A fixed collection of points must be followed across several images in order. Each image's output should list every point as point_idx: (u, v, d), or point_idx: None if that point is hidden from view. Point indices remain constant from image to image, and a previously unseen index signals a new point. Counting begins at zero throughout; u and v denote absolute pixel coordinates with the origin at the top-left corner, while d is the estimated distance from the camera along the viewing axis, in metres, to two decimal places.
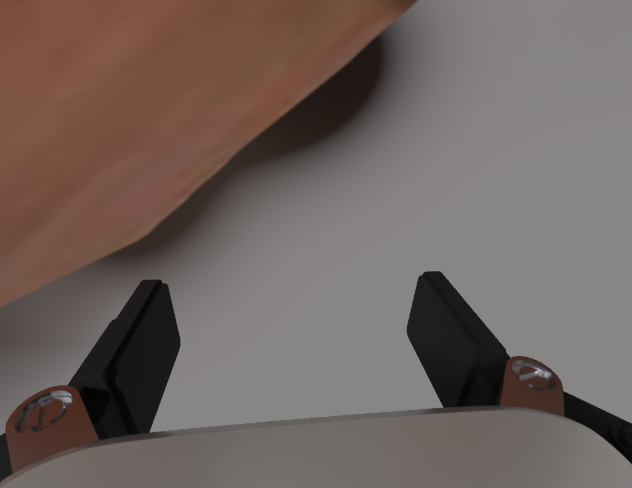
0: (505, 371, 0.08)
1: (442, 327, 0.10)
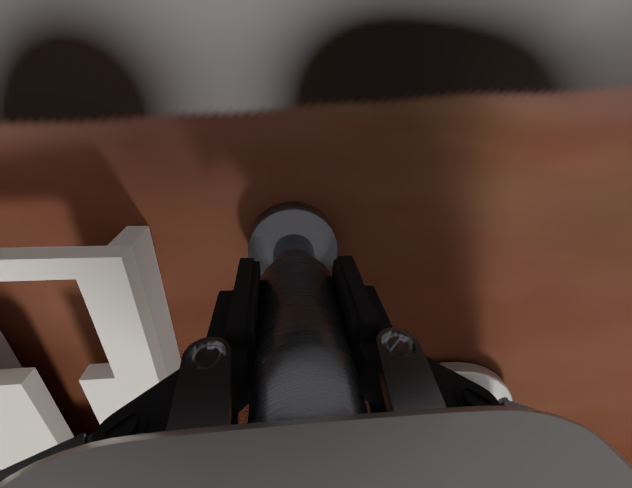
0: (378, 351, 0.08)
1: (342, 305, 0.11)
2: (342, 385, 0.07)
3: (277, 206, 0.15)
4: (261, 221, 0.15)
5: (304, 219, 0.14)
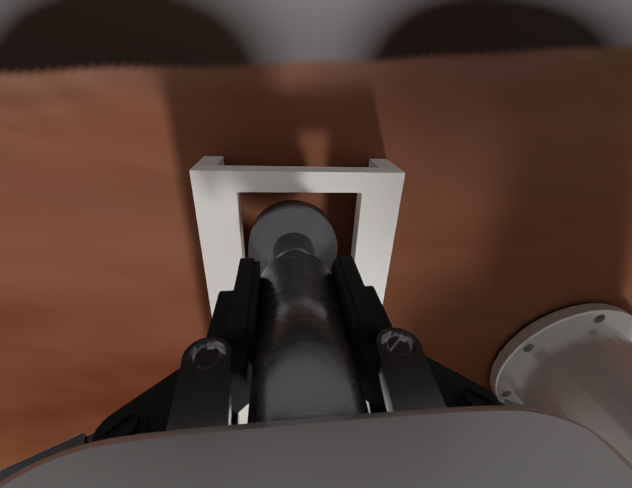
0: (378, 350, 0.08)
1: (342, 305, 0.11)
2: (343, 383, 0.07)
3: (277, 205, 0.15)
4: (261, 219, 0.14)
5: (304, 217, 0.14)
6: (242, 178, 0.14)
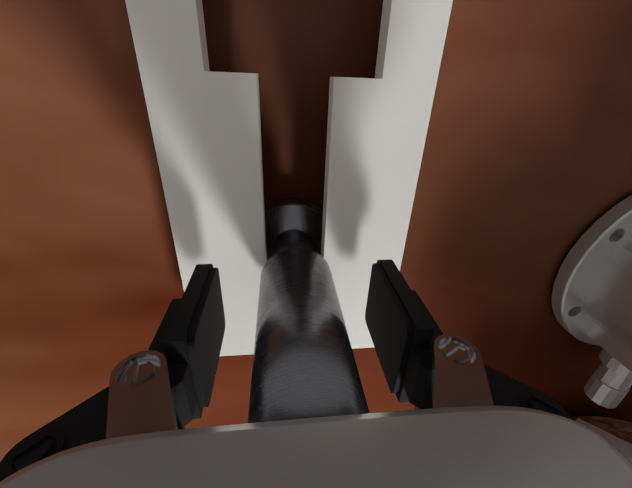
0: (434, 353, 0.08)
1: (387, 310, 0.10)
2: (340, 369, 0.08)
3: (277, 202, 0.15)
4: None
5: (304, 214, 0.15)
6: None
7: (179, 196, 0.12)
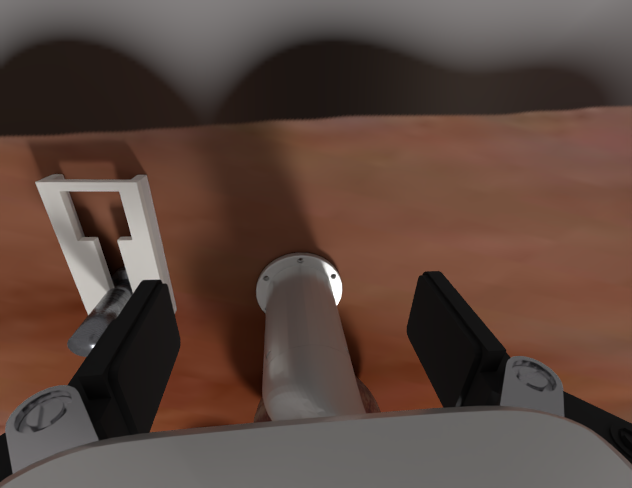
0: (505, 371, 0.08)
1: (442, 327, 0.10)
2: (99, 321, 0.33)
3: (121, 268, 0.41)
4: (113, 274, 0.41)
5: None
6: (60, 185, 0.33)
7: (76, 272, 0.38)
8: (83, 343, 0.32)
